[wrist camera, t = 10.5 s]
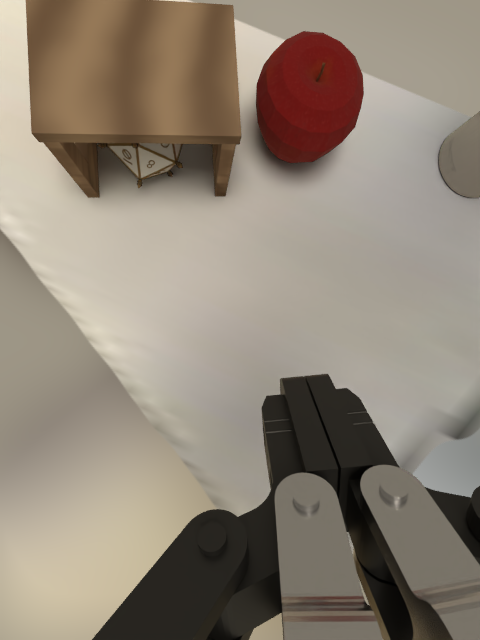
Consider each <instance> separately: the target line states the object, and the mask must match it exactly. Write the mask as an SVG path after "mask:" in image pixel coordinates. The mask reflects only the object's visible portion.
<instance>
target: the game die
mask: <svg viewBox="0 0 480 640" xmlns="http://www.w3.org/2000/svg"><path fill="white" fill-rule="evenodd" d="M182 145H183V144H163V143H99V144H98V145H97V146H98V147H101V148H105V147H108V148H109V149H110V150H111V151H112V152H113V153H114V154H115V155H116V156H117V157H118V158H119V159H120V160H121V161H122V162H123V163H124V164H125V165H126V167H127V168H128V169H129V170H130V171H131V172H132V173H133V174H134V175H135V176H136V177H137V178H138V179H139V180H138V181H137V182H138V183H137V185H138V188H140V187H141V186H142V180H143V179H147V178H150V177H153V176H156V175H159V174H163V173H166V172H167V174H168V176H171V177H172V175H173V173H172V172H171V171H170V169H171V168H172V167H173V166H174V165H175V164H176V166H177V167H178V168H183V167H182V163H180V162H178V158H179V155H180V151H181V148H182Z"/></svg>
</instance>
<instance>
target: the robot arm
mask: <svg viewBox="0 0 480 640" xmlns="http://www.w3.org/2000/svg"><path fill="white" fill-rule="evenodd" d="M439 166H440V171H441V174H442V176H443V178H444V180H445V182H446V183H447V184H448V186H449V187H450V188H451V189H452V190H454V191H455V192H456V193H458V194H460V195H462V196H465V197H470V198H478V197H480V112H478V113H477V114H476V115H474V116H473V117H472V118H471V119H469V120H468V121H467V122H465V123H464V124H463V125H462V126H460V127H459V128H458V129H457V130H455V131H454V132H453V133H452V134H450V135H449V136H448V137H447V138H446V139H445V141H444V142H443V144H442V146H441V149H440V153H439ZM280 393H281V395H272V396H266V399H265V401H264V403H263V406H262V420H263V434H264V446H265V453H266V459H267V466H268V473H269V480H270V487H271V492H270V494H269V496H268V497H267V499H266V500H265V501H264V502H263V503H262V504H261V505H260V506H258V507H257V508H256V509H254V510H252V511H250V512H248V513H245V514H243V515H241V516H239V517H237V516H235V515H234V514H233V513H231V512H229V511H225V510H219V509H216V510H209V511H206V512H203V513H201V514H199V515H197V516H196V517H195V518H193V519H192V520H191V521H190V522H189V523H188V525H187V526H186V527H185V528H184V529H183V531H182V532H181V533H180V534H179V535H178V537H177V538H176V539H175V540H174V541H173V543H172V544H171V545H170V546H169V547H168V549H167V550H166V551H165V552H164V554H163V555H162V556H161V557H160V558H159V559H158V561H157V562H156V563H155V564H154V566H153V567H152V568H151V569H150V570H149V572H148V573H147V574H146V575H145V576H144V578H143V579H142V580H141V581H140V583H139V584H138V585H137V586H136V587H135V588H134V590H133V591H132V592H131V593H130V594H129V596H128V597H127V598H126V599H125V601H124V602H123V603H122V604H121V606H120V607H119V608H118V609H117V610H116V611H115V613H114V614H113V615H112V616H111V617H110V619H109V620H108V621H107V622H106V623H105V625H104V626H103V627H102V628H101V630H100V631H99V632H98V633H97V634H96V635H95V637H94V638H93V639H92V640H249V638H250V636H251V633H252V631H253V629H254V628H256V627H257V626H259V625H261V624H262V623H264V622H266V621H268V620H269V619H271V618H273V617H274V616H276V615H278V614H280V613H282V624H283V639H284V640H480V486H479V487H478V488H476V489H475V490H474V492H473V494H472V497H471V498H470V497H465V496H459V495H454V494H449V493H444V492H439V491H434V490H431V489H428V488H426V487H424V486H423V485H422V483H421V482H420V481H419V480H418V479H417V478H416V477H415V476H413V475H412V474H411V473H409V472H407V471H406V470H403V469H401V468H400V467H399V466H398V464H397V463H396V461H395V459H394V457H393V456H392V454H391V452H390V450H389V449H388V447H387V445H386V443H385V442H384V440H383V438H382V436H381V435H380V433H379V431H378V430H377V428H376V426H375V424H373V421H372V419H371V417H370V416H369V414H368V413H367V410H366V409H365V407H364V405H363V403H362V402H361V400H360V398H359V397H357V396H356V395H355V394H354V393H352V392H351V391H350V390H348V389H347V388H343V389H335V387H334V385H333V383H332V381H331V379H330V377H329V375H328V374H321V375H310V376H304V377H303V376H301V377H291V378H281V379H280ZM347 532H349V534H350V537H351V540H352V543H353V546H354V549H353V555H352V551H351V547H350V544H349V540H348V536H347ZM357 574H358V575H357ZM358 577H359V579H358ZM359 580H360V582H361V585H362V587H363V590H364V592H365V595H366V597H367V600H368V602H369V605H370V606H369V605H367V604H366V602H365V600H364V597H363V594H362V590H361V587H360V583H359ZM382 638H383V639H382Z"/></svg>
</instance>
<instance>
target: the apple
mask: <svg viewBox="0 0 480 640" xmlns="http://www.w3.org/2000/svg"><path fill="white" fill-rule="evenodd" d="M363 94H364V91H363V75H362V73H361V70H360V68H359V65H358V63H357V60H356V58H355V56H354V55H353V54H352V53H351V52H350V51H349V50H348V49H347V48H346V47H345V46H344V45H343V44H342V43H341V42H340V41H338V40H336V39H334V38H332V37H330V36H328V35H326V34H324V33H317V32H305V31H303V32H301V33H299V34H297V35H295V36H293V37H291V38H289V39H287V40H285V41H284V42H283V43H282V44H281V45H280V46H279V47H278V48H277V49H276V50H275V51H274V52H273V53H272V55H271V56H270V57H269V59H268V60H267V61H266V63H265V64H264V66H263V68H262V71H261V74H260V77H259V79H258V82H257V93H256V109H257V118H258V124H259V127H260V130H261V133H262V136H263V139H264V140H265V142H266V144H267V146H268V148H269V150H270V151H271V152H272V153H273V154H274V155H275V156H276V157H277V158H279V159H281V160H284V161H286V162H289V163H298V162H313V161H315V160H316V159H318V158H320V157H322V156H323V155H325V154H327V153H328V152H330V151H331V150H332V149H334V148H335V147H336V146H337V145H339V144H340V143H341V142H343V140H344V139H345V138H346V137H347V136H348V135H349V133H350V132H351V131H352V130H353V129H354V127H355V125H356V122H357V119H358V115H359V112H360V109H361V104H362V99H363Z"/></svg>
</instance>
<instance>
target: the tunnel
mask: <svg viewBox="0 0 480 640" xmlns="http://www.w3.org/2000/svg"><path fill="white" fill-rule="evenodd" d="M26 16H27V39H28V61H29V84H30V106H31V129H32V134H33V135H34V137H35V138H36V139H37V140H38V141H39V142H43V143H44V144H45V145H46V146H47V147H48V149H49V150H50V151H51V152H52V154H53V155H54V156H55V157H56V159H57V160H58V161H59V162H60V163H61V165H62V166H63V167H64V168H65V170H66V171H67V172H68V173H69V174H70V176H71V177H72V178H73V179H74V181H75V182H76V183H77V184H78V186H79V187H80V188H81V189H82V190H83V192H84V193H85V194H86V195H87V197H99V179H98V159H97V143H163V144H212V152H213V169H214V186H215V196H225V195H226V190H227V185H228V180H229V176H230V171H231V166H232V161H233V156H234V151H235V146H236V144H240V139H241V124H240V108H239V92H238V75H237V59H236V43H235V27H234V11H233V5H222V4H206V3H191V2H175V1H160V0H26Z"/></svg>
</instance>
